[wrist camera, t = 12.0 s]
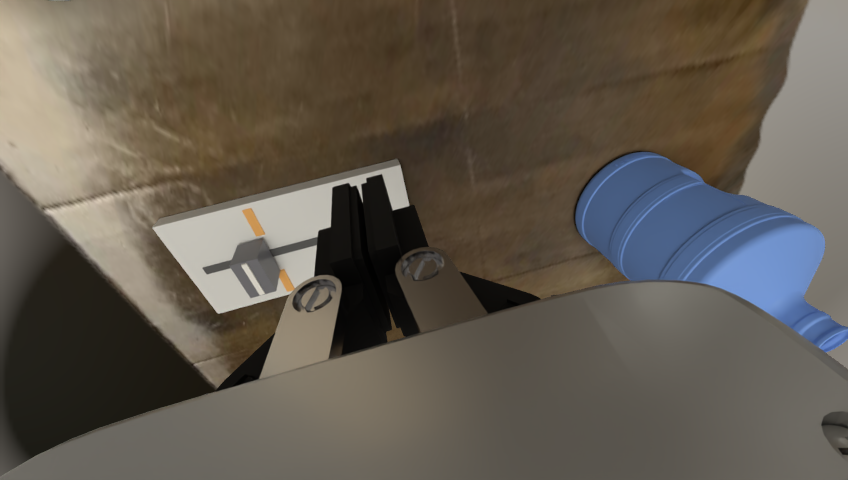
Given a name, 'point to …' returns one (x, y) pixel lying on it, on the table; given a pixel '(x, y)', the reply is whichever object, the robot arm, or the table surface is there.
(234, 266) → the fader knob
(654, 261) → the water jug
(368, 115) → the table surface
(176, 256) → the fader board
